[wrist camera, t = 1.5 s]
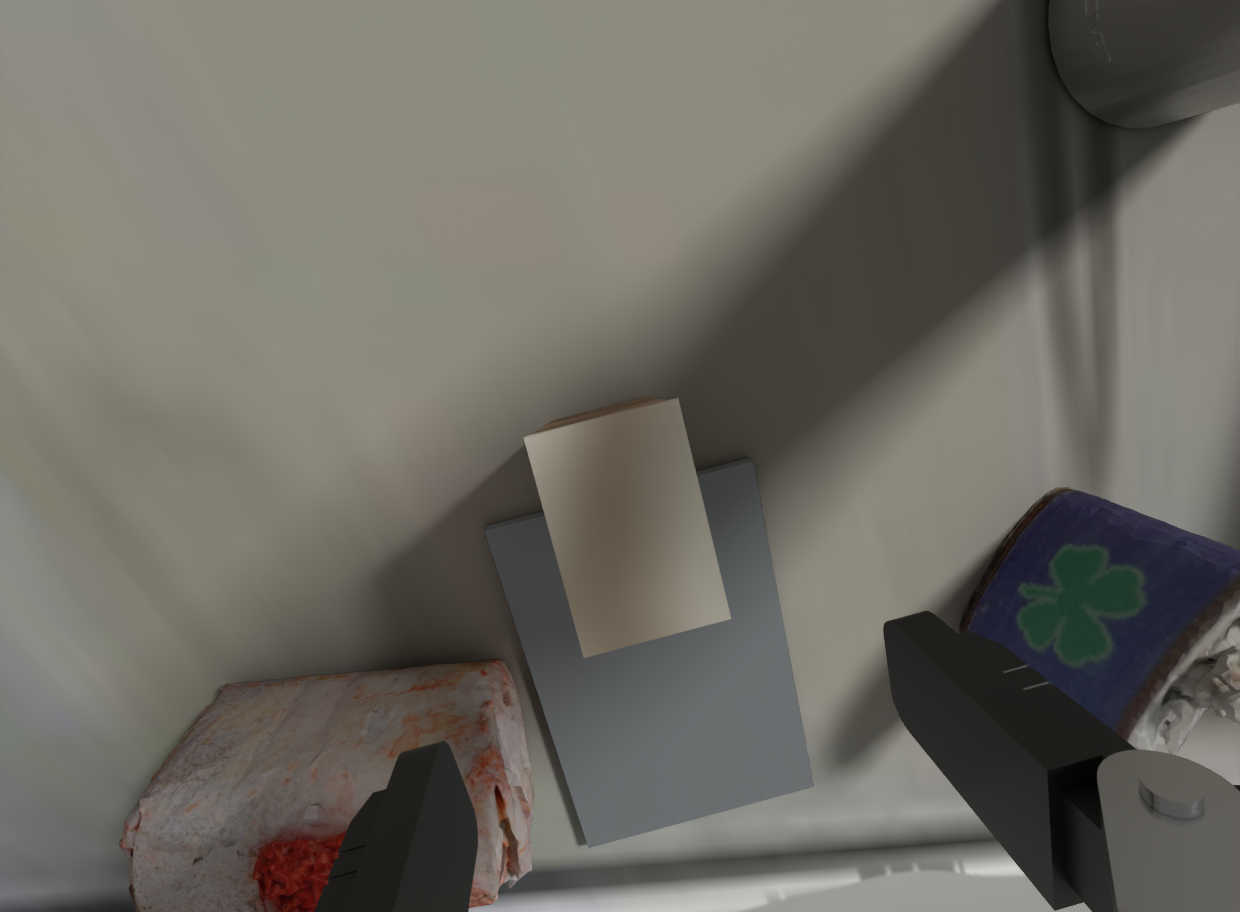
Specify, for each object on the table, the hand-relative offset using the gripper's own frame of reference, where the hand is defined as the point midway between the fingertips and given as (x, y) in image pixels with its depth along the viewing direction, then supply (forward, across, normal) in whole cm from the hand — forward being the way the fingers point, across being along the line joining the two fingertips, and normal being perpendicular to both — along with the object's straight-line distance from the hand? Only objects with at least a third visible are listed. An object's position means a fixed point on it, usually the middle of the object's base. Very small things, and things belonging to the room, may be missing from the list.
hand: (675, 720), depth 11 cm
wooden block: (+15, 0, 0) cm, 16 cm away
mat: (+16, 0, +10) cm, 19 cm away
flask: (+16, -18, +10) cm, 26 cm away
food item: (+16, +13, +9) cm, 23 cm away
